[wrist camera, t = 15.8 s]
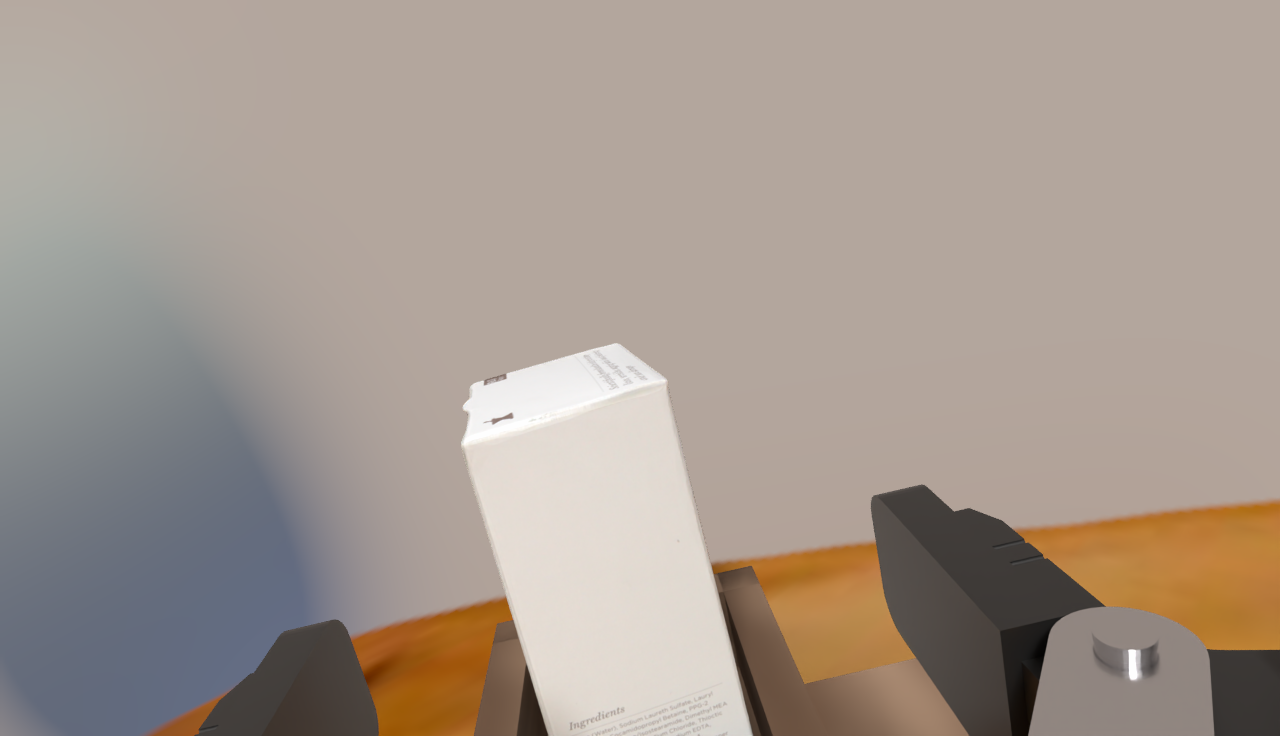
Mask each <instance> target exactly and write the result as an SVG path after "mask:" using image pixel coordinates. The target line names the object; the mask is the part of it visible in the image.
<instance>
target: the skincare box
mask: <svg viewBox="0 0 1280 736" xmlns="http://www.w3.org/2000/svg"><path fill="white" fill-rule="evenodd" d="M463 410H464V411H465V412H466V413H467V415H468V423H467V429H466V433H465V435H464V437H463V440H462V442H461V448H462V452H463V455H464V459H465V462H466V465H467V469H468V472H469V476H470V479H471V482H472V486H473V489H474V492H475V496H476V499H477V502H478V505H479V509H480V512H481V515H482V518H483V522H484V525H485V528H486V532H487V535H488V538H489V541H490V545H491V548H492V551H493V554H494V558H495V561H496V564H497V568H498V571H499V574H500V577H501V581H502V584H503V587H504V590H505V594H506V597H507V600H508V604H509V607H510V610H511V613H512V617H513V620H514V623H515V627H516V630H517V633H518V637H519V640H520V643H521V647H522V650H523V653H524V656H525V660H526V663H527V666H528V669H529V673H530V676H531V679H532V683H533V686H534V689H535V693H536V696H537V699H538V702H539V706H540V709H541V713H542V716H543V719H544V723H545V726H546V729H547V732H548V736H753V733H752V729H751V725H750V721H749V716H748V713H747V709H746V705H745V701H744V696H743V692H742V688H741V684H740V680H739V675H738V671H737V667H736V663H735V658H734V654H733V650H732V646H731V642H730V638H729V634H728V630H727V626H726V622H725V618H724V614H723V610H722V606H721V602H720V598H719V594H718V590H717V586H716V582H715V578H714V574H713V570H712V566H711V562H710V558H709V555H708V550H707V546H706V542H705V538H704V534H703V530H702V526H701V522H700V518H699V514H698V509H697V505H696V501H695V497H694V493H693V490H692V485H691V481H690V477H689V474H688V469H687V465H686V461H685V457H684V453H683V449H682V445H681V440H680V436H679V431H678V428H677V423H676V419H675V414H674V410H673V406H672V402H671V397H670V392H669V387H668V380H667V379H666V378H665V377H663V376H662V375H661V374H659V373H658V372H656V371H655V370H653V369H652V368H651V367H650V366H648V365H647V364H645V363H644V362H643V361H641V360H640V359H639V358H637V357H636V356H635V355H633V354H632V353H631V352H629V351H628V350H627V349H625V348H624V347H623V346H621V345H620V344H618V343H615V344H611V345H608V346H603V347H599V348H595V349H591V350H588V351H585V352H581V353H577V354H574V355H570V356H567V357H563V358H560V359H556V360H553V361H549V362H546V363H542V364H539V365H535V366H532V367H528V368H525V369H521V370H518V371H514V372H511V373H507V374H504V375H500V376H497V377H493V378H490V379H487V380H483V381H480V382H476V383H474V384H473V385H472V386H471V387H470V399H469V400H468V401H467V402H466V403H465V404H464V406H463Z"/></svg>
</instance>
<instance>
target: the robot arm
mask: <svg viewBox="0 0 1280 736" xmlns="http://www.w3.org/2000/svg"><path fill="white" fill-rule="evenodd" d="M871 512H872V519H873V525H874V532H875V538H876V545H877V551H878V557H879V564H880V570H881V577H882V583H883V589H884V594H885V598H886V602H887V605H888V608H889V611H890V614H891V617H892V619H893V621H894V624H895V626H896V628H897V630H898V631H899V633H900V635H901V636H902V638H903V639H904V641H905V642H906V643H907V645H908V646H909V648H910V649H911V651H912V652H913V654H914V655H915V657H916V658H917V660H918V661H919V663H920V664H921V665H922V667H923V668H924V670H925V671H926V673H927V674H928V676H929V677H930V679H931V680H932V682H933V683H934V685H935V686H936V687H937V689H938V690H939V692H940V693H941V695H942V696H943V698H944V699H945V701H946V702H947V704H948V705H949V707H950V708H951V710H952V711H953V712H954V714H955V715H956V717H957V718H958V720H959V721H960V723H961V724H962V726H963V727H964V729H965V730H966V732H967V733H968V734H969V736H1280V650H1210V649H1206V647H1205V646H1204V644H1203V643H1202V642H1201V640H1200V639H1199V638H1198V637H1197V636H1196V635H1195V634H1193V633H1192V632H1191V631H1190V630H1188V629H1187V628H1185V627H1184V626H1182V625H1180V624H1179V623H1177V622H1174V621H1172V620H1170V619H1168V618H1166V617H1163V616H1160V615H1157V614H1154V613H1150V612H1147V611H1143V610H1137V609H1132V608H1123V607H1106V606H1104V605H1103V604H1102V603H1101V602H1100V601H1098V600H1097V599H1096V598H1095V597H1094V596H1092V595H1091V594H1090V593H1089V592H1088V591H1086V590H1085V589H1084V588H1083V587H1081V586H1080V585H1079V584H1078V583H1077V582H1075V581H1074V580H1073V579H1072V578H1071V577H1069V576H1068V575H1067V574H1066V573H1065V572H1063V571H1062V570H1061V569H1060V568H1059V567H1057V566H1056V565H1055V564H1054V563H1053V562H1051V561H1050V560H1049V559H1048V558H1047V559H1044V557H1043V554H1042V553H1040V552H1039V551H1038V550H1037V549H1036V548H1034V547H1033V546H1032V545H1031V544H1030V543H1025V541H1024V538H1022V537H1021V536H1020V535H1019V534H1018V533H1016V532H1015V531H1014V530H1013V529H1011V528H1010V527H1009V526H1008V525H1007V524H1005V523H1004V522H1003V521H1002V520H999V519H996V518H994V517H991V516H988V515H986V514H983V513H980V512H978V511H975V510H972V509H970V508H968V509H964V510H959V511H955V512H954V511H952V509H951V508H949V507H948V506H947V505H946V504H945V503H944V502H943V501H942V500H941V499H939V498H938V497H937V496H936V495H935V494H934V493H933V492H932V491H931V490H930V489H928V487H926V486H925V485H918V486H914V487H909V488H905V489H900V490H896V491H892V492H887V493H884V494H879V495H875V496H873V497H872V501H871ZM378 734H379V732H378V719H377V713H376V709H375V705H374V703H373V700H372V697H371V694H370V691H369V689H368V686H367V683H366V680H365V678H364V675H363V672H362V669H361V667H360V664H359V661H358V658H357V655H356V653H355V650H354V647H353V644H352V642H351V639H350V636H349V634H348V631H347V629H346V627H345V626H344V625H343V624H342V623H341V622H340V621H339V620H330V621H326V622H322V623H317V624H313V625H309V626H305V627H300V628H296V629H292V630H288V631H284V632H283V633H282V634H281V635H280V636H279V637H278V639H277V640H276V642H275V643H274V645H273V646H272V647H271V649H270V650H269V652H268V653H267V655H266V656H265V658H264V659H263V661H262V662H261V664H260V665H259V667H258V668H257V670H256V671H255V672H254V673H252V674H250V675H248V676H247V677H246V678H245V679H244V680H243V681H242V682H240V683H239V684H238V685H237V686H236V687H235V688H234V689H232V690H231V691H230V692H229V693H228V694H227V695H225V696H224V697H223V698H222V699H221V700H220V701H219V702H218V703H217V705H216V706H215V707H214V709H213V710H212V712H211V713H210V714H209V716H208V717H207V719H206V720H205V721H204V723H203V724H202V726H201V727H200V728H199V734H197V735H194V736H378Z"/></svg>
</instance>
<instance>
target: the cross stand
mask: <svg viewBox="0 0 1280 736" xmlns="http://www.w3.org/2000/svg"><path fill="white" fill-rule="evenodd" d="M714 578H715V582H716V586H717V590H718V594H719V598H720V602H721V606H722V610H723V614H724V618H725V622H726V626H727V630H728V634H729V638H730V642H731V646H732V650H733V654H734V658H735V663H736V667H737V671H738V675H739V680H740V684H741V688H742V692H743V696H744V701H745V705H746V709H747V713H748V716H749V721H750V725H751V729H752V733H753V736H969V734H968V733H967V732H966V730H965V729H964V727H963V726H962V724H961V723H960V721H959V720H958V718H957V717H956V715H955V714H954V712H953V711H952V710H951V708H950V707H949V705H948V704H947V702H946V701H945V699H944V698H943V696H942V695H941V693H940V692H939V690H938V689H937V687H936V686H935V685H934V683H933V682H932V680H931V679H930V677H929V676H928V674H927V673H926V671H925V670H924V668H923V667H922V665H921V664H920V663H919V661H918V660H917V658H915V659H911V660H907V661H902V662H898V663H894V664H889V665H885V666H881V667H876V668H872V669H868V670H864V671H859V672H855V673H851V674H846V675H842V676H838V677H833V678H829V679H825V680H820V681H816V682H812V683H807V684H804V682H803V680H802V678H801V676H800V673H799V671H798V669H797V667H796V664H795V662H794V660H793V658H792V655H791V653H790V651H789V649H788V646H787V644H786V642H785V640H784V637H783V635H782V633H781V631H780V628H779V626H778V624H777V622H776V619H775V617H774V615H773V613H772V610H771V608H770V606H769V604H768V601H767V599H766V597H765V595H764V592H763V590H762V588H761V586H760V583H759V581H758V579H757V577H756V574H755V572H754V570H753V568H752V566H748V567H744V568H740V569H735V570H731V571H726V572H722V573H718V574H714ZM474 736H548V732H547V729H546V726H545V723H544V719H543V716H542V713H541V709H540V706H539V702H538V699H537V696H536V693H535V689H534V686H533V683H532V679H531V676H530V673H529V669H528V666H527V663H526V660H525V656H524V653H523V650H522V647H521V643H520V640H519V637H518V633H517V630H516V627H515V623H514V620H512V621H507V622H503V623H498V624H497V627H496V632H495V637H494V641H493V646H492V651H491V656H490V661H489V665H488V670H487V675H486V680H485V685H484V689H483V694H482V699H481V704H480V709H479V713H478V718H477V723H476V728H475V732H474Z"/></svg>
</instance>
